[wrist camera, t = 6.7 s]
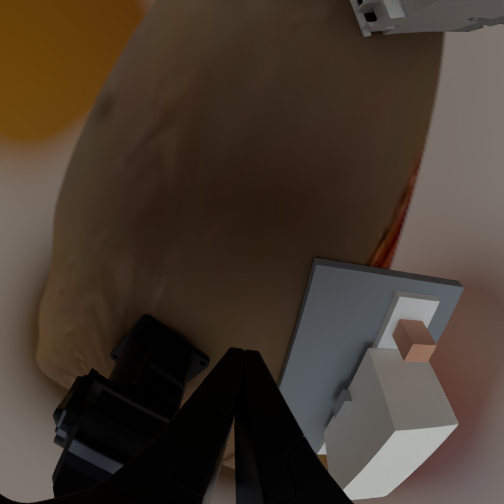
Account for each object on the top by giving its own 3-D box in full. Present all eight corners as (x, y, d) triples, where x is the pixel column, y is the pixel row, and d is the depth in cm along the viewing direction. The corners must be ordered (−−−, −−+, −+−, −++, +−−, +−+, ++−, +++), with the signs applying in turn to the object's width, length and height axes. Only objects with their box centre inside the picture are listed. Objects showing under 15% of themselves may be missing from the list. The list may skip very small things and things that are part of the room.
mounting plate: (258, 441, 30) (256, 477, 26) (314, 257, 21) (325, 295, 17) (362, 445, 30) (368, 477, 26) (458, 280, 21) (487, 314, 17)
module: (315, 430, 27) (322, 503, 20) (359, 342, 22) (386, 431, 15) (374, 430, 27) (389, 497, 20) (427, 346, 22) (466, 422, 15)
